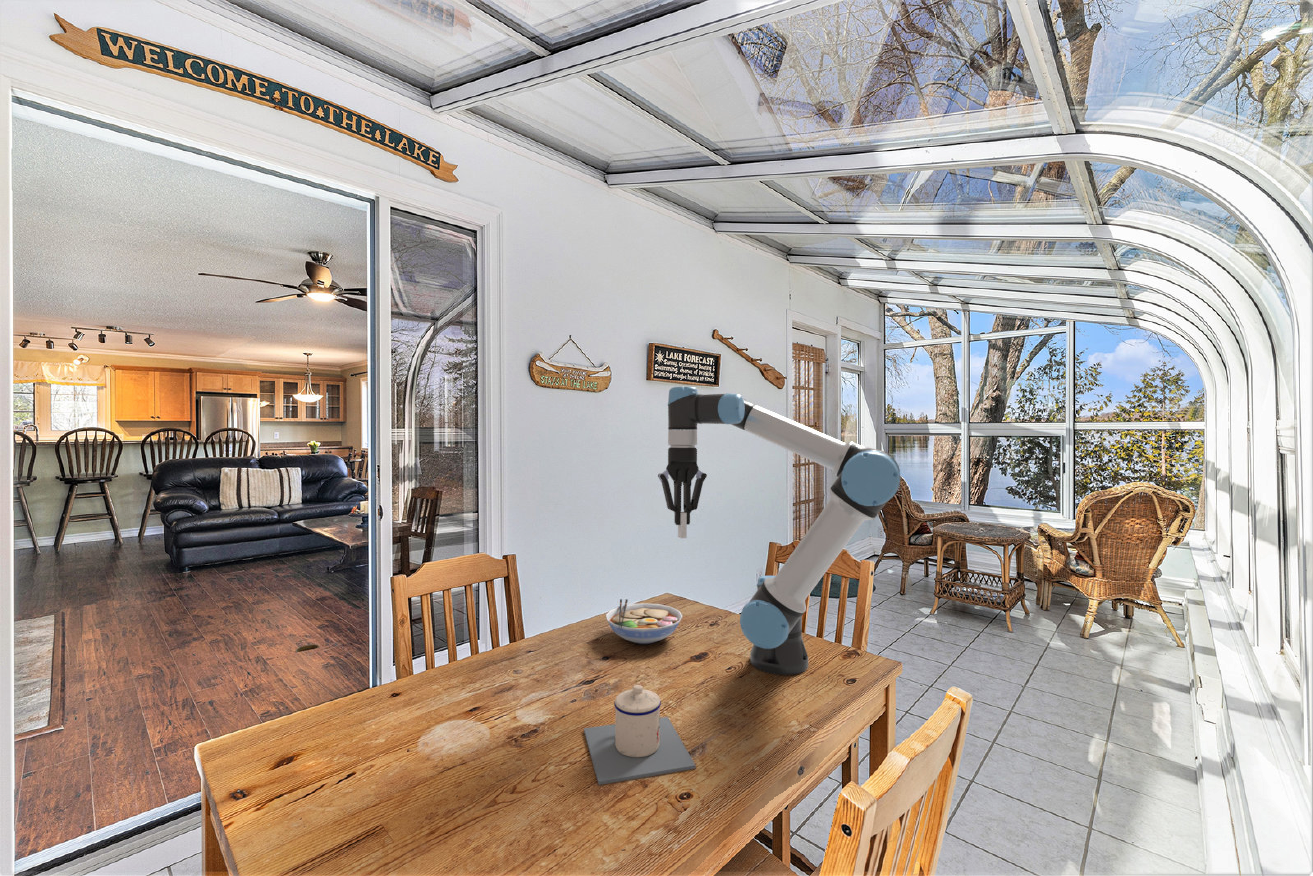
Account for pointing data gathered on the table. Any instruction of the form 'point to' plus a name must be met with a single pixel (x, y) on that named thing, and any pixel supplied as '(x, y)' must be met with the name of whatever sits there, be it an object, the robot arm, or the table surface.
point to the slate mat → (623, 768)
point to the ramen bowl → (643, 621)
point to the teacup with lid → (637, 722)
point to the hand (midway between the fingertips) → (682, 537)
